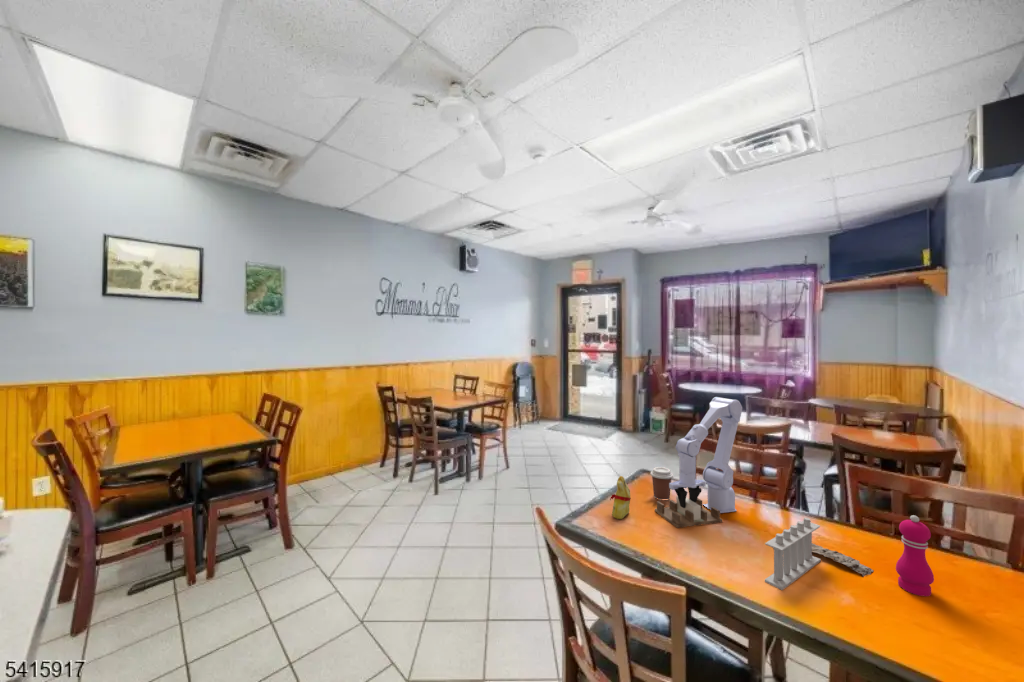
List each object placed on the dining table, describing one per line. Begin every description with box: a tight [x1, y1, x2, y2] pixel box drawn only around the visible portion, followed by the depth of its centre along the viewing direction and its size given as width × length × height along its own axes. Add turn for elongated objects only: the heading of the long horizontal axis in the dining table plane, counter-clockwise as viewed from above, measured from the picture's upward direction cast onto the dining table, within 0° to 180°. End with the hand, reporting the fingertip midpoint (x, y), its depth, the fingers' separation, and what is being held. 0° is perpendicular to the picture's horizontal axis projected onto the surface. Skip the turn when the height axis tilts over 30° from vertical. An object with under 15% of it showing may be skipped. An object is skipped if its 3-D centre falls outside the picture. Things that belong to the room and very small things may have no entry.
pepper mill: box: [895, 514, 935, 597], centre depth 106 cm, size 7×7×20 cm
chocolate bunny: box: [609, 475, 631, 520], centre depth 153 cm, size 7×11×15 cm, turn 141°
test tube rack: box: [764, 517, 822, 591], centre depth 115 cm, size 25×4×13 cm, turn 123°
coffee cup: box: [650, 466, 674, 500], centre depth 168 cm, size 9×9×12 cm
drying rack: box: [654, 497, 723, 529], centre depth 150 cm, size 19×14×4 cm
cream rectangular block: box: [675, 495, 701, 520], centre depth 150 cm, size 3×10×5 cm, turn 13°
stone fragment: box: [812, 542, 874, 578], centre depth 124 cm, size 25×3×10 cm
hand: (687, 506), depth 150 cm, fingers open, 4 cm apart
